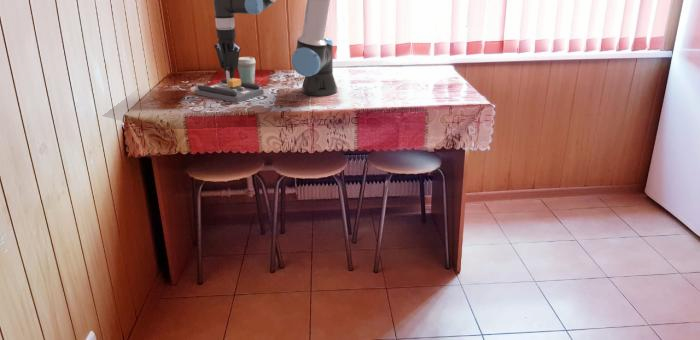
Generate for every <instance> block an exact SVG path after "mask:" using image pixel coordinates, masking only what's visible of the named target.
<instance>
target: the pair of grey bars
mask: <svg viewBox="0 0 700 340" xmlns="http://www.w3.org/2000/svg"><path fill="white" fill-rule="evenodd" d="M221 82H222V83H225V84H227V78H222V79H221V81H220V83H221ZM208 86H209V85H201V84H198V85H197V89H199V90H203V91H209V92H214V93H219V94H225V95H230V96H236V95H237V92H235V91H230V90H224V89H219V88H213V87H208ZM239 86H242V87H248V88H253V89H261V88H260V84H257V83H254V84H252V83H246V82H241V85H239Z"/></svg>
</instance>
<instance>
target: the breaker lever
mask: <svg viewBox="0 0 700 340" xmlns="http://www.w3.org/2000/svg"><path fill="white" fill-rule="evenodd" d="M227 84H228V87H230V88H231V89H236V90H239V85H241V79H240V78H237V77H236V78H235V77H234V79H232V80H228V81H227Z"/></svg>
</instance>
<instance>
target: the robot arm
mask: <svg viewBox="0 0 700 340" xmlns="http://www.w3.org/2000/svg"><path fill="white" fill-rule="evenodd" d="M276 1H277V0H212V2H213V9H214V18H215V19H214V20H215V21H214V22H215V28H217V29H216V37H217V39H218V41H217V44H214V45H213V47H214V49H215V51H216V56H217V58H218V62H219V66H220V69H223V70H224V75H225V79H227V81H228V80H232V79H235V70H238V60H239V58H240V51H241V49H242V48H241V46H238V45H237V42H236V38H237V37H236V34H237V33H236V28H235V27H236V24H235V22H236V21H235V14H241V15H242V14H243V15H245V14H246V15H259V14H261V13H262V12H263V11H266V10H267V9H268V8H270V7H271V6H272V4H273V3H276ZM330 4H331V0H306V6H305V12H304V19H303V25H302V32H301V35H300V36H299V37H297V40H296V42H297V43H296V47H295V50H294V51H293V53H292V54H291V55H292V56H291V59H290V60H291V61H290V62H291V66H292V68H293V69H294V71H295V72H296V73H297V74H298V75H301V76H303V77H304V79H303V81H302V86H301V92H302V94H304V95H307V96H317V97H318V96H319V97H321V96H323V97H324V96H331V95H334V94H336V93H337V92H338V91H337V90H338V89H337V88H338V87H337V84H336V81H335V77H334V71H333V69H334V67H333V65H334V64H333V56H334V55H333V48H334V46H333V40H332V39H331V38H327V37H325V34H326V33H325V32H326V26H327V20H328V14H329V7H330ZM227 86H228V84H227Z"/></svg>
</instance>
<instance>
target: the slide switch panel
mask: <svg viewBox="0 0 700 340" xmlns="http://www.w3.org/2000/svg"><path fill="white" fill-rule="evenodd" d="M207 86H208V87H213V88H219V89H224V90H230V91H235V92H237V95H236V96H230V95H225V94H219V93H214V92H209V91H203V90H199V89H198V88H197V89H195V95H198V96H203V97H208V98H213V99H218V100H223V101H228V102H234V103H240V102H241V103H242V102H243V101H246V100H250V99H252V98H253V99H254V98H256V97H258V96H261V95H264V88H259V89H253V88H248V87H242V86H239V90H236V89H231V88H230V87H228V86H227V84H225V83H222V82H221V81H220V82H218V83H215V84H214V83H213V84H211V85H207Z"/></svg>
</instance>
